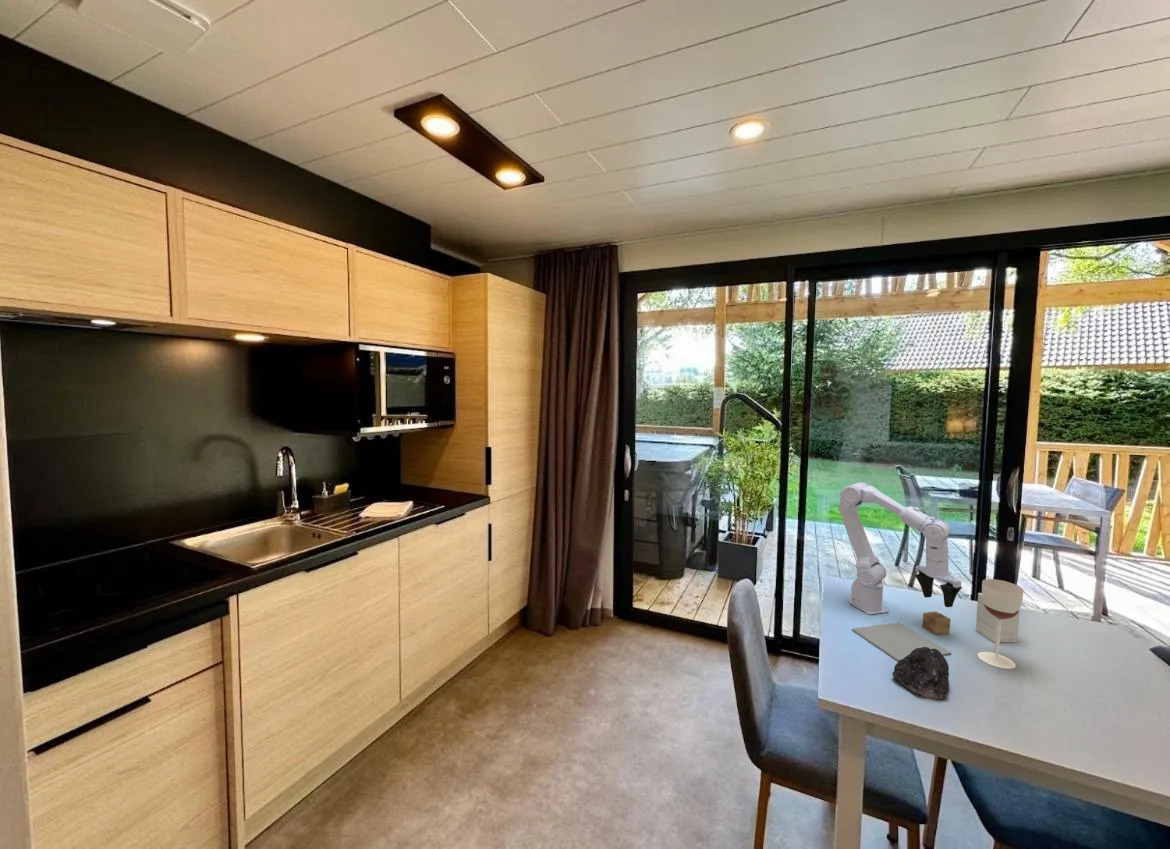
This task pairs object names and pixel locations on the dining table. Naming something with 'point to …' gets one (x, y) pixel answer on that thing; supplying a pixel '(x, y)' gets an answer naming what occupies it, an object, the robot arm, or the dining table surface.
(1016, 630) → the supplement box
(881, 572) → the robot arm
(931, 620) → the walnut cube
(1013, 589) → the wineglass
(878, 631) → the grey mat
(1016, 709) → the dining table surface
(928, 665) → the dark grey rock
